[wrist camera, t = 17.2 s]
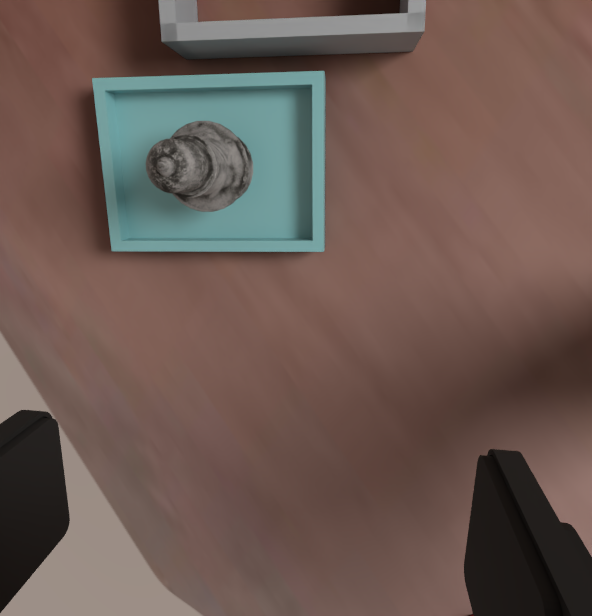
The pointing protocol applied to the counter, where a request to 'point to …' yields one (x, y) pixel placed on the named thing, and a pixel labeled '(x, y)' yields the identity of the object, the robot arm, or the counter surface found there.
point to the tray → (244, 124)
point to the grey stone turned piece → (201, 166)
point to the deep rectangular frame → (289, 33)
